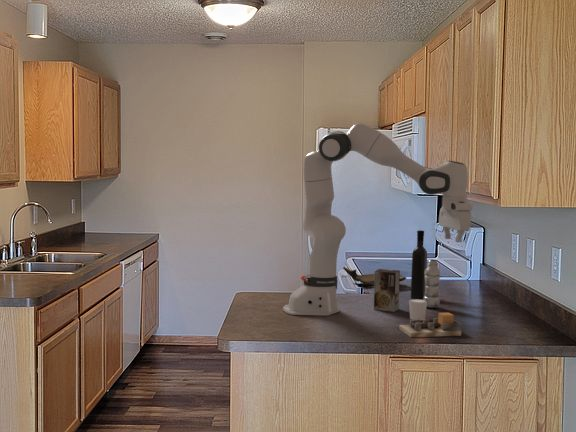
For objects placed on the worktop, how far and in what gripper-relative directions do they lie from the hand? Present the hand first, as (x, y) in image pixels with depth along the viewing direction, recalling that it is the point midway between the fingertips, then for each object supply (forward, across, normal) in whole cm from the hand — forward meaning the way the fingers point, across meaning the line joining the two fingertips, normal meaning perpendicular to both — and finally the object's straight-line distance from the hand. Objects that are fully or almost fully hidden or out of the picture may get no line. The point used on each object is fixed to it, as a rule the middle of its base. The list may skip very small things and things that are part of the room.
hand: (453, 240), depth 256 cm
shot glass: (+31, -5, -11) cm, 34 cm away
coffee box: (+31, -21, -18) cm, 42 cm away
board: (+31, +15, -15) cm, 37 cm away
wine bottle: (+31, -41, +4) cm, 52 cm away
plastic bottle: (+31, -22, +2) cm, 38 cm away
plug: (+30, +15, -14) cm, 36 cm away
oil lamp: (+32, -71, -6) cm, 78 cm away
